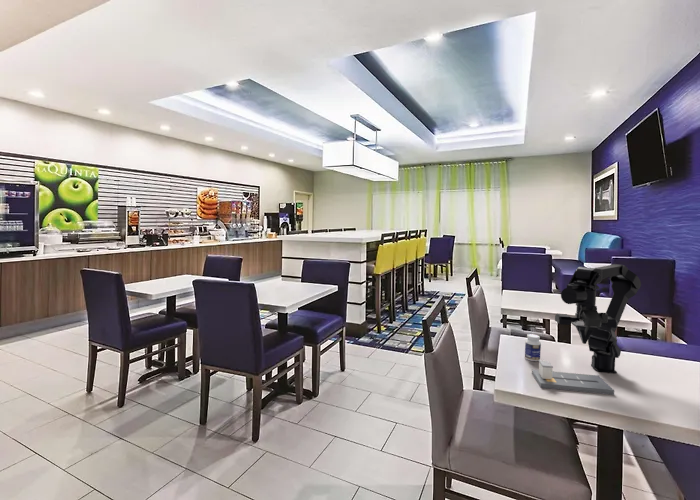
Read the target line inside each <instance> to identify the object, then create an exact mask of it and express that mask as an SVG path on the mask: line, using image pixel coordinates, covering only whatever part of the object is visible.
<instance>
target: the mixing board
mask: <svg viewBox="0 0 700 500" xmlns="http://www.w3.org/2000/svg"><path fill="white" fill-rule="evenodd" d="M531 375H532V376H533V378H534V379H535V382H536V383H537V384H538V385H539V387H540V388H541V389H542V388H544V389H555V390H565V391H574V392H585V393H593V394H604V395H612V396H614V395H615V389H614V388H612V387H611V386H610V385H609V384H608V382H606V381H605V380H604V379H603V378H602V377H601V376H600V375H595V374H585V373H576V372H575V373H574V372H563V371H553V370H552V379H543V378H542V377H541V375H540V374H539V369H531Z"/></svg>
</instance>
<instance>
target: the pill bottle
mask: <svg viewBox="0 0 700 500" xmlns="http://www.w3.org/2000/svg"><path fill="white" fill-rule="evenodd" d="M526 335H527V336H526V340H525V343H524V344H525V346H524V358H525V360H528V361H532V362H539V360H541V349H542V347H541V346H542V344H541V341H540V339H541V338H540V336H539V335H537V334H532V333H531V334H530V333H527V334H526Z"/></svg>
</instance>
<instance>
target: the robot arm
mask: <svg viewBox="0 0 700 500" xmlns="http://www.w3.org/2000/svg"><path fill="white" fill-rule="evenodd" d="M608 278H609V281H610V283H611V290H612V293H613V295H612V296H611V299H610V302H609V304H608V307H607V309H606V312H598V306H597V304H596V302H597V300H596V298H597V290H600V287H599V286H598V284H600V283H601V282H603V280H604V279H608ZM641 286H642V282H641V280H640V277H638V275H637V274H636V273H634V272H633V271H631V270H630V269H629V268H628V267H627V266H626V265H624V264H616V263H613V264H609V265H603V266H598V267H585V266H578V267H577V268H576V270H575V271H574V272H573V274H572V276H571V278H570V280H569V283H568V284H567V285H566V288H563V289H562V291H561V293H560V298H561V300H562V302H564V303H565V304H567V305H573V304H575V306H576V312H575V313H574V316H570V315H569V314H567V313H556V314H555V316H554V321H555V322H556V323H557V324H559V325H564V326H565V325H567V326H569V325H573V326H574V327H575V328H576V330H577V332H578V334H579V337H580V340H581V343H582V344H584V345H585V344H588V345H587V346H588V348H589V352H591V353H593V355H591V364H590V366H591V367H592V368H593V369H594V370H596V371H597V372H601V373H612V374H618V372H617V370H616V359H619V358H620V356H621V353H622V351H621V349H620V347H619V346H618V339H617V335H616V330H617V329H618V326H619V323H620V321H621V320H622V319H621V318H622V316H623V315H624V311H625V308H626V306H627V304H628V301H629V300H630V299H631V298H632V297H634V296H636V294H637V293H638V291H639V290H640V288H641Z"/></svg>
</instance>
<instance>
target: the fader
mask: <svg viewBox="0 0 700 500" xmlns="http://www.w3.org/2000/svg"><path fill="white" fill-rule="evenodd" d="M553 369H554V366H553V364H552V363H551V362H550V361H549V360H544V359H543V360H542V359H540V360H539V361H538V370H539V374H540V375H541V377H542V378H543V379H552V371H553Z"/></svg>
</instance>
